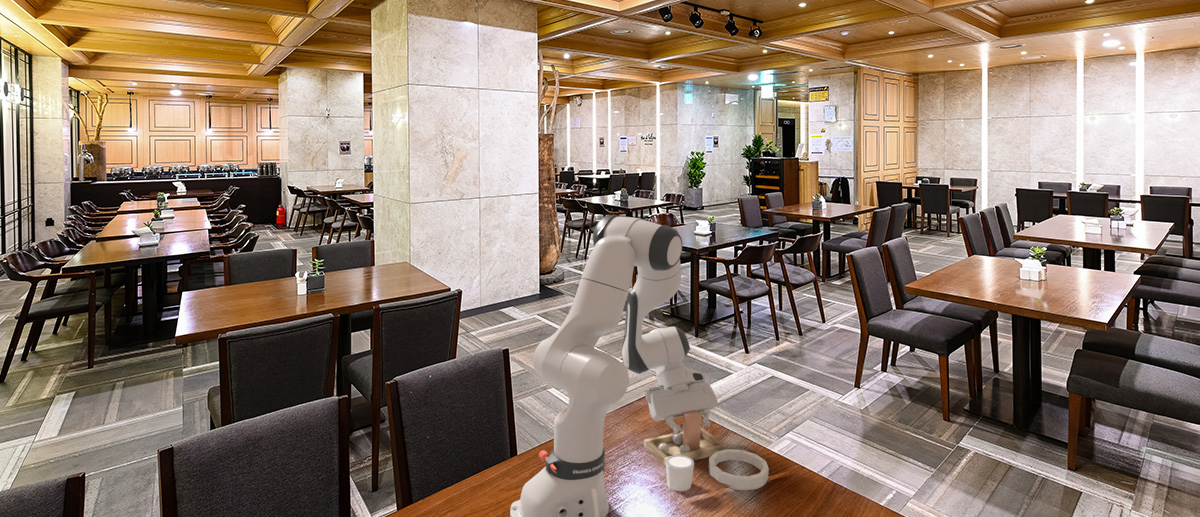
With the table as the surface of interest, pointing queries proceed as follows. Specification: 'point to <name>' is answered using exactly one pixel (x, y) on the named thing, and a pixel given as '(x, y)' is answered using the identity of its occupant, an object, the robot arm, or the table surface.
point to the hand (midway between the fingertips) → (692, 429)
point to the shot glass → (679, 472)
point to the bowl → (734, 480)
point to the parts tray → (707, 444)
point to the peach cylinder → (692, 429)
